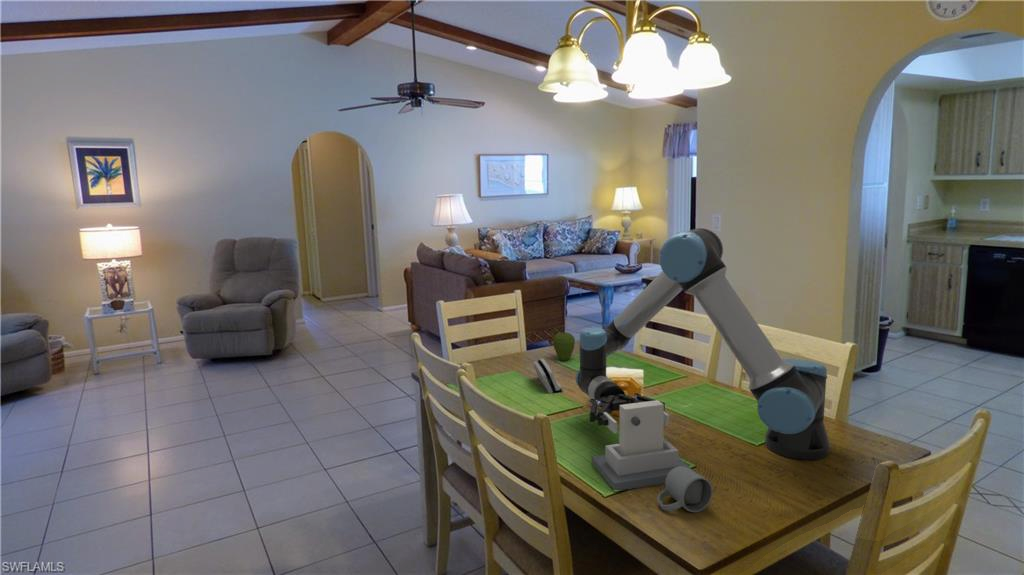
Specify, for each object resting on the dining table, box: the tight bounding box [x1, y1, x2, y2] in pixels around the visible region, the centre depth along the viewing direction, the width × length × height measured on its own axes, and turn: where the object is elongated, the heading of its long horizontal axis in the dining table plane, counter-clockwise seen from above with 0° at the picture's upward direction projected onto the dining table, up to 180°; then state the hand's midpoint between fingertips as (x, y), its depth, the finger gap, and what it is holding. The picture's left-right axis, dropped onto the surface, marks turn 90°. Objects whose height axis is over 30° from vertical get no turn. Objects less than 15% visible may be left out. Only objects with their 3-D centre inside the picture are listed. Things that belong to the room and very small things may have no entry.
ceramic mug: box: [656, 466, 714, 513], centre depth 130 cm, size 11×8×8 cm
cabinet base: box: [591, 437, 694, 491], centre depth 146 cm, size 20×14×6 cm
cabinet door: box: [619, 399, 665, 457], centre depth 144 cm, size 10×4×15 cm, turn 104°
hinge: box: [532, 358, 564, 394], centre depth 208 cm, size 17×5×10 cm, turn 11°
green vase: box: [552, 331, 576, 362], centre depth 235 cm, size 9×8×12 cm
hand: (642, 424), depth 143 cm, fingers open, 13 cm apart
